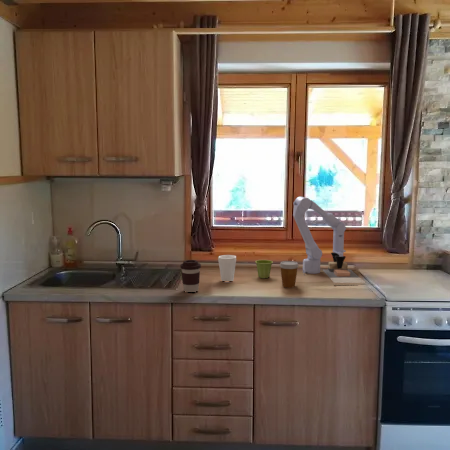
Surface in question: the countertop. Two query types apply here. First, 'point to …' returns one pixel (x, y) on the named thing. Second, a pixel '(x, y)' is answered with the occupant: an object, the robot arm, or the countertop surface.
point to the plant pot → (263, 268)
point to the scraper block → (333, 266)
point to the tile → (341, 272)
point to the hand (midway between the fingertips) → (337, 266)
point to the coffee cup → (190, 275)
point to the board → (344, 278)
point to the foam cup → (227, 267)
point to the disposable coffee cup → (288, 273)
